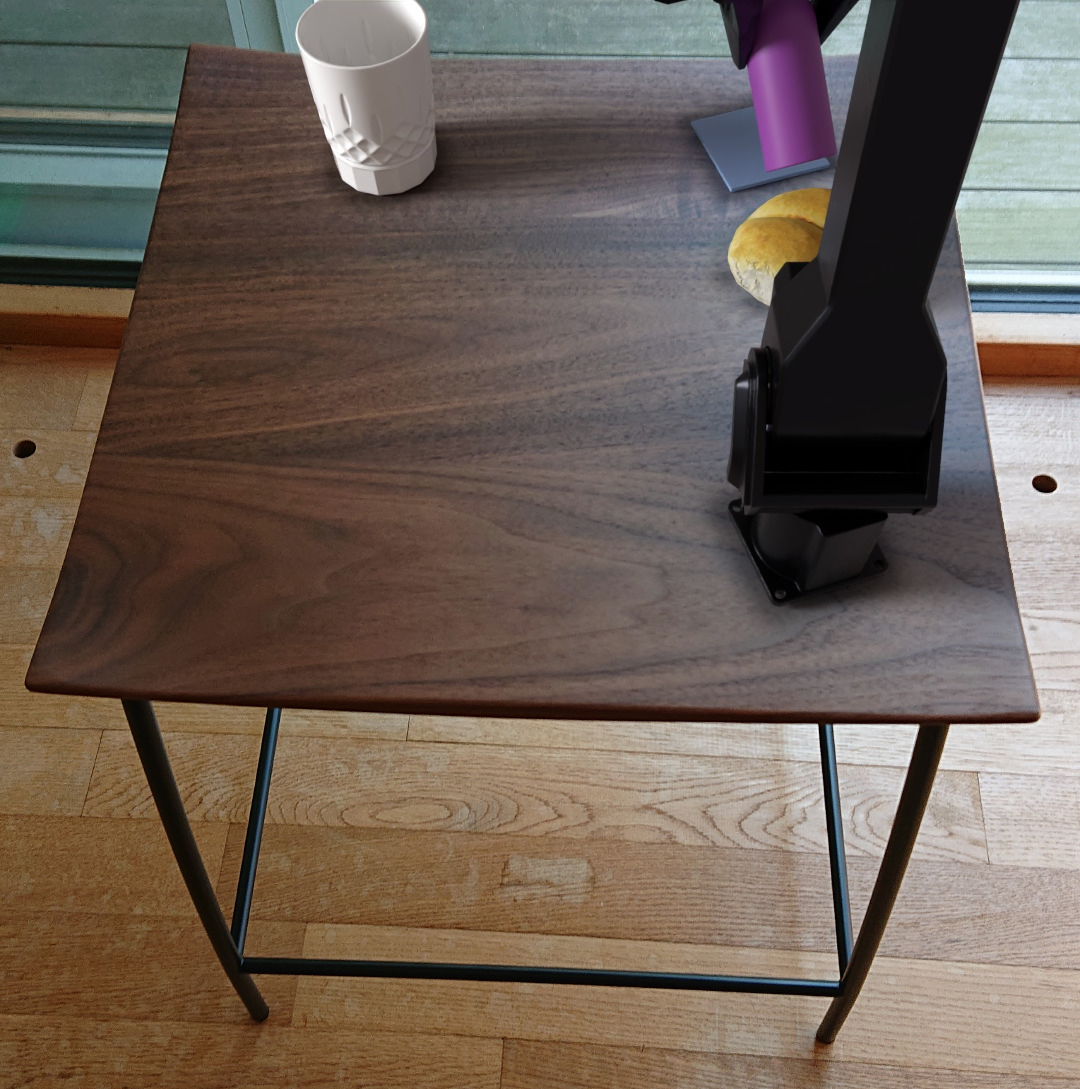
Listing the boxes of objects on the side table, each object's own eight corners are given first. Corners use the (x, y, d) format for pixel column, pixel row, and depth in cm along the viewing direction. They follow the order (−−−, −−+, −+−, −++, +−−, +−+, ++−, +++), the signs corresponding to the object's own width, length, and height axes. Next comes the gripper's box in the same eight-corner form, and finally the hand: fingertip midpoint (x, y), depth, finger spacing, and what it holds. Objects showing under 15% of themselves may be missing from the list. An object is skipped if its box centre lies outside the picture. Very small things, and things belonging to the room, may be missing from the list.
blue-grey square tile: (829, 167, 71) (830, 163, 71) (730, 192, 70) (731, 189, 70) (785, 101, 75) (786, 98, 74) (690, 124, 74) (691, 121, 74)
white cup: (316, 140, 74) (281, 4, 66) (425, 110, 75) (405, -27, 67) (346, 216, 70) (314, 82, 62) (461, 183, 72) (445, 48, 63)
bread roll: (897, 256, 67) (915, 206, 64) (811, 338, 64) (824, 291, 61) (790, 194, 70) (801, 143, 67) (702, 270, 67) (709, 221, 64)
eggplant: (797, 164, 64) (763, -39, 61) (751, 176, 68) (717, -14, 65) (852, 150, 66) (822, -48, 63) (805, 162, 70) (774, -23, 67)
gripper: (918, -329, 58) (854, -47, 72) (591, -266, 56) (588, 13, 69) (1026, -232, 53) (935, 53, 66) (669, -158, 51) (650, 122, 64)
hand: (774, 56), depth 67 cm, fingers closed on eggplant, 4 cm apart
